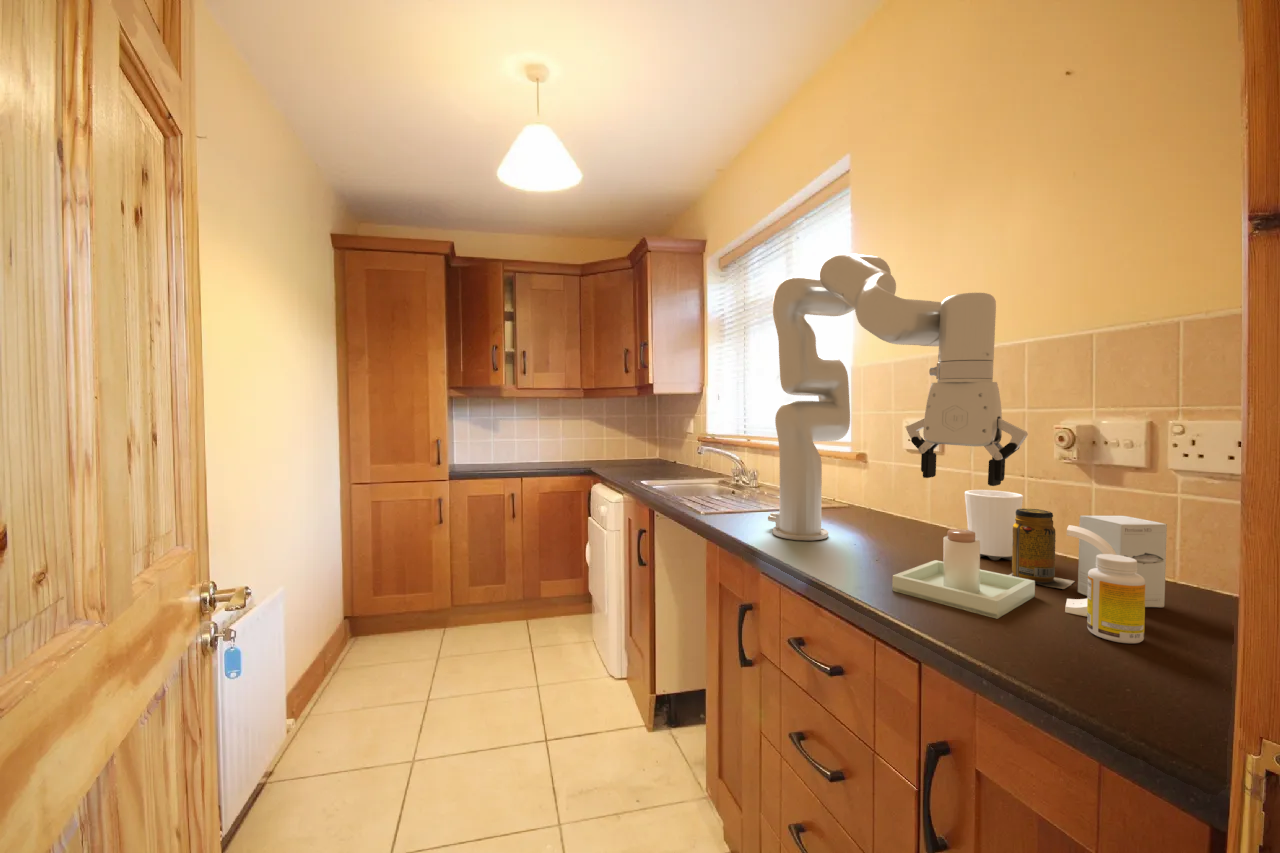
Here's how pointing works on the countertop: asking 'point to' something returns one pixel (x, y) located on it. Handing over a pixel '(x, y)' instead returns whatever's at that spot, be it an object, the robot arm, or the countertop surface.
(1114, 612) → the supplement bottle
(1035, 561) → the condiment
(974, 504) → the cup
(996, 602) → the tray
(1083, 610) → the headphone stand
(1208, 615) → the countertop surface
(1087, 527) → the supplement box
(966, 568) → the shaker
